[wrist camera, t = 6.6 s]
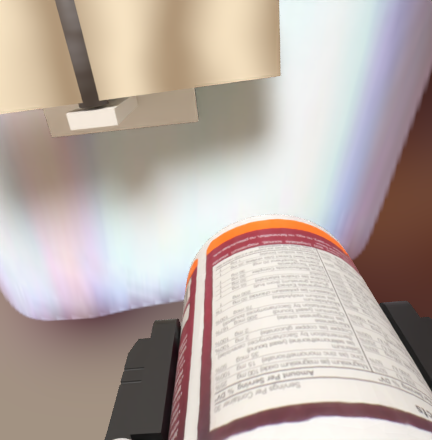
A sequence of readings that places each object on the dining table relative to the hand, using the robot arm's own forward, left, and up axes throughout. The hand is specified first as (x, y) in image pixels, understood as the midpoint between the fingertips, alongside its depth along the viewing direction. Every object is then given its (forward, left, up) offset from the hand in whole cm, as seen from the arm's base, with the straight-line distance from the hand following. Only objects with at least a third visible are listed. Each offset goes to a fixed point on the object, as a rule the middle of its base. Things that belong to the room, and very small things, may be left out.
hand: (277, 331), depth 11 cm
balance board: (+9, -9, -15) cm, 20 cm away
